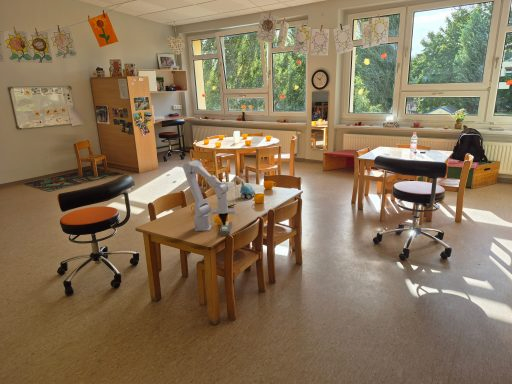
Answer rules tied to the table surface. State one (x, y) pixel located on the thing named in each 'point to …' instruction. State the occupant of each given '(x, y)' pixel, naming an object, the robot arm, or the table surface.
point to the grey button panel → (226, 231)
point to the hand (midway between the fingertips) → (224, 224)
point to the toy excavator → (245, 189)
